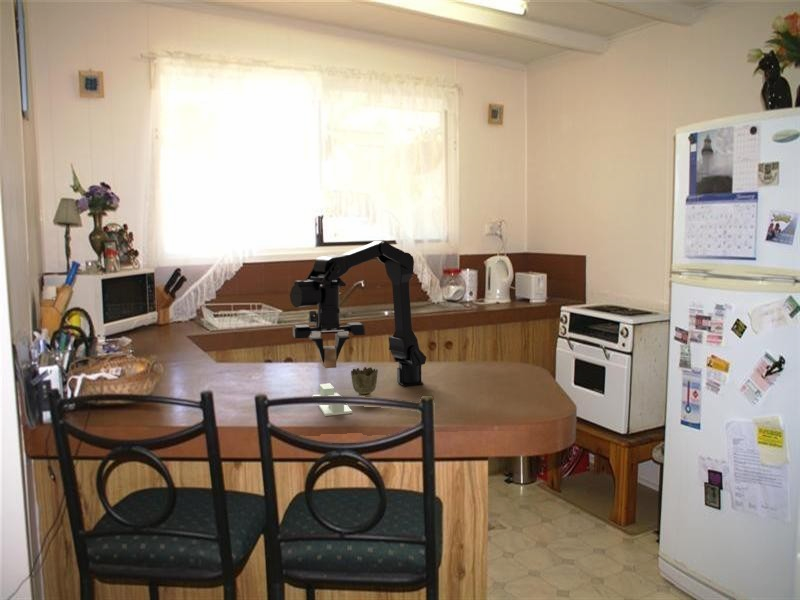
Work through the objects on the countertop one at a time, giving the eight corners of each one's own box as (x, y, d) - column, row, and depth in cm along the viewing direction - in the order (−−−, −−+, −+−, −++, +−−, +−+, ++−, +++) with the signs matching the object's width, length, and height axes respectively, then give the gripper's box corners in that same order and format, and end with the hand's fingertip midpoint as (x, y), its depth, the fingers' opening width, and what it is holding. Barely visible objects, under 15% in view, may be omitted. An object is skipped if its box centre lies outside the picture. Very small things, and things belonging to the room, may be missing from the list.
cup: (354, 403, 171) (353, 374, 170) (349, 395, 178) (348, 368, 177) (381, 400, 173) (380, 372, 172) (374, 393, 180) (374, 366, 179)
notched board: (337, 394, 179) (336, 382, 179) (352, 413, 162) (351, 399, 162) (312, 397, 177) (312, 384, 177) (325, 416, 160) (324, 402, 160)
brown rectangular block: (333, 364, 173) (333, 346, 172) (336, 367, 169) (336, 349, 168) (322, 364, 172) (322, 346, 171) (325, 368, 168) (325, 349, 167)
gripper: (356, 299, 179) (356, 353, 181) (289, 301, 173) (290, 357, 175) (365, 304, 168) (365, 362, 170) (294, 306, 163) (295, 366, 165)
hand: (329, 361), depth 170 cm, fingers closed on brown rectangular block, 3 cm apart
